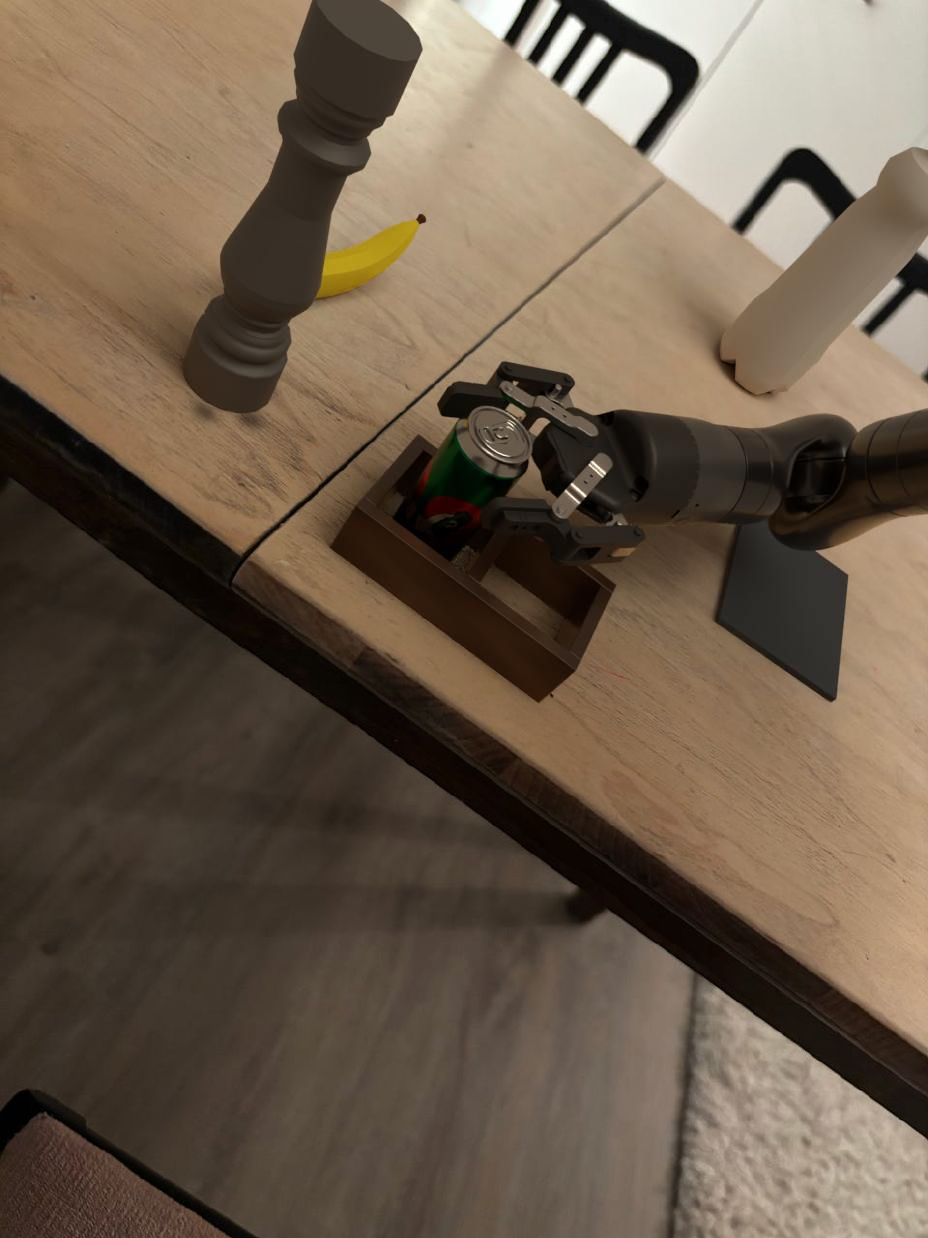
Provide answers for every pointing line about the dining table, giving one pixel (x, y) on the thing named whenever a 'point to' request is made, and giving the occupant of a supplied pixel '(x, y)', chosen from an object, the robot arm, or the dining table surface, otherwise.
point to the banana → (366, 258)
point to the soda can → (465, 479)
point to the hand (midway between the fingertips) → (464, 454)
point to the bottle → (831, 280)
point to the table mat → (786, 606)
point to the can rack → (477, 585)
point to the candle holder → (299, 197)
